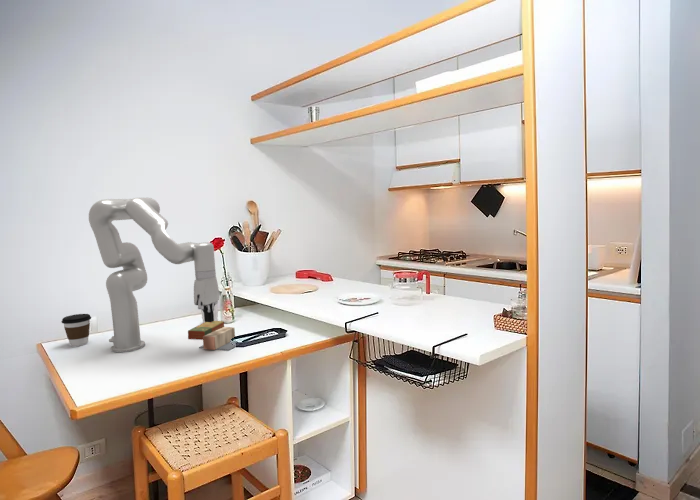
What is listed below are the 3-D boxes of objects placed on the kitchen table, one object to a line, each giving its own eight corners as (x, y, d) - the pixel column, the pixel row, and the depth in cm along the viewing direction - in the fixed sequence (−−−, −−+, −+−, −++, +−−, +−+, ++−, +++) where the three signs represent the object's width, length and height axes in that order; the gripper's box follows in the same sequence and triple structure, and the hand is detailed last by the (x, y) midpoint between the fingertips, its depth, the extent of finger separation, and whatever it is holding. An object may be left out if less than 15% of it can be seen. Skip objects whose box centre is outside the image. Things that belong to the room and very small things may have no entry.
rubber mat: (198, 348, 187) (198, 347, 187) (223, 336, 202) (223, 335, 202) (228, 350, 182) (228, 349, 182) (251, 338, 197) (251, 337, 197)
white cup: (201, 322, 228) (199, 302, 227) (218, 320, 231) (216, 300, 229) (202, 326, 220) (200, 305, 219) (219, 324, 223) (218, 303, 222)
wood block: (202, 336, 184) (224, 326, 197) (203, 349, 184) (225, 338, 197) (213, 337, 182) (234, 327, 195) (214, 349, 182) (235, 339, 195)
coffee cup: (80, 348, 194) (77, 320, 192) (57, 348, 196) (54, 319, 195) (99, 340, 204) (96, 313, 203) (77, 340, 206) (75, 313, 205)
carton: (224, 330, 214) (224, 320, 213) (205, 340, 198) (204, 330, 198) (208, 329, 216) (207, 320, 215) (187, 339, 201) (187, 330, 200)
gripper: (209, 271, 190) (213, 316, 192) (184, 278, 176) (188, 326, 178) (225, 271, 187) (228, 317, 189) (201, 278, 173) (205, 327, 175)
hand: (209, 321), depth 184 cm, fingers closed
